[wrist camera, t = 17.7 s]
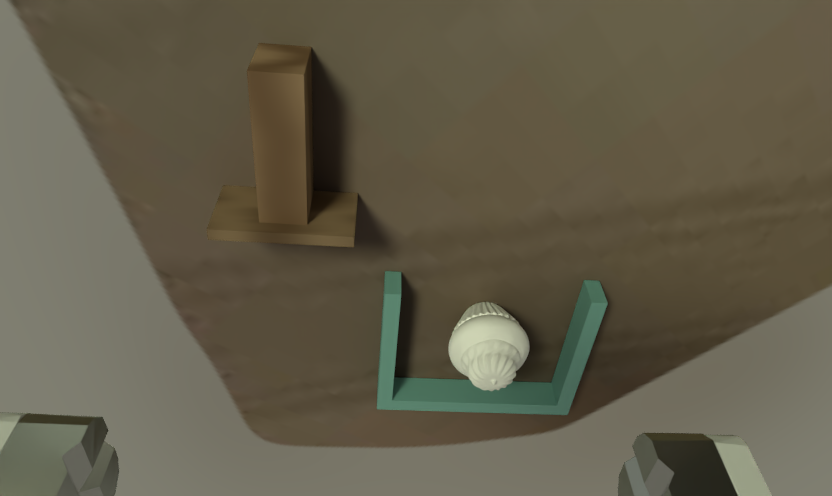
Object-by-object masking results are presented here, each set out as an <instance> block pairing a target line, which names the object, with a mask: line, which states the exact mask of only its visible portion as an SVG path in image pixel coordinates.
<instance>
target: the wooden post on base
mask: <svg viewBox="0 0 832 496" xmlns="http://www.w3.org/2000/svg"><path fill="white" fill-rule="evenodd" d="M247 77H248V90H249V103H250V115H251V128H252V140H253V153H254V165H255V178H256V187H244V186H227V185H223V188H222V190H221V193H220V196H219V198H218V201H217V203H216V206H215V209H214V211H213V214H212V217H211V219H210V222H209V224H208V227H207V236H208V240H223V241H243V242H262V243H282V244H301V245H320V246H340V247H354V240H355V228H356V215H357V203H358V193H346V192H329V191H313V124H312V56H311V47H305V46H291V45H278V44H265V43H259V45H258V47H257V49H256V51H255V54H254V56H253V58H252V60H251V63H250V65H249V67H248V70H247Z"/></svg>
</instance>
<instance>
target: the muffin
mask: <svg viewBox="0 0 832 496" xmlns="http://www.w3.org/2000/svg"><path fill="white" fill-rule="evenodd" d="M529 348H530V346H529V340H528V337H527V334H526V332H525V331H524V329H523V328H522V327H521V326H520V325H519V322H518V321H516V320H515V318H513V317H512V316H511V315H510V314H509V313H507V312H506V311H505V310H504V309H503V308H502V307H500V306H498V305H497V304H493V303H492V302H491V303H489V302H483V303H481V302H480V303H476V304H475V305H472V306H471V307H469V308H468V309H467V310H466V311H465V313H464V314H463V316H462V317H461V319H460V320H459V322H458V323H457V325H456V327H455V328H454V331H453V332H452V336H451V338H450V341H449V348H448V350H449V356H450V359H451V361H452V363H453V365H454V366H455V368H456V369H457V370H458V371H459V372H461V373H462V374H464V375H466V376H468V377H469V379H470V380H471V382H472V384H473V385H474V386H476V387H478V388H480V389H482V390H489V391H493V390H500V389H501V388H506V387H507V385H508V384H511V383H512V382H513V378H515V377H516V372H515V371H517V370H518V369H519V368H520V367H521V366H522V365H523V363H524V362H525V360H526V358H527V356H528V353H529Z"/></svg>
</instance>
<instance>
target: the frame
mask: <svg viewBox="0 0 832 496" xmlns="http://www.w3.org/2000/svg"><path fill="white" fill-rule="evenodd" d="M400 304H401V272H391V271H385V281H384V296H383V311H382V327H381V342H380V357H379V373H378V391H377V409H387V410H420V411H452V412H485V413H518V414H551V415H568V412H569V410H570V407H571V404H572V401H573V398H574V396H575V393H576V390H577V387H578V385H579V382H580V379H581V376H582V373H583V371H584V368H585V365H586V362H587V360H588V357H589V354H590V351H591V349H592V346H593V343H594V340H595V337H596V335H597V332H598V329H599V326H600V324H601V321H602V318H603V315H604V312H605V310H606V307H607V304H608V303H607V300H606V297H605V295H604V292H603V289H602V286H601V284H600V281H592V280H584V282H583V285H582V288H581V291H580V294H579V298H578V301H577V304H576V307H575V310H574V313H573V316H572V320H571V323H570V326H569V329H568V332H567V335H566V338H565V341H564V345H563V348H562V351H561V354H560V357H559V360H558V363H557V366H556V370H555V373H554V376H553V379H552V382H551V383H547V382H517V381H513V382H512V383H511V384H508V385H507V387H506V388H501V389H500V390H493V391H489V390H482V389H480V388H478V387H476V386H474V385H473V384H472V382H471V380H458V379H428V378H399V377H394V372H395V361H396V349H397V338H398V327H399V315H400Z"/></svg>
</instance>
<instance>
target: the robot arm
mask: <svg viewBox="0 0 832 496" xmlns="http://www.w3.org/2000/svg"><path fill="white" fill-rule="evenodd" d="M107 432H108V429H107V426H106V424H105V421H104V419H103V417H94V416H72V415H48V414H31V413H6V412H0V496H114V495H115V492H116V487H117V480H118V474H119V465H118V457H117V453H116V451H115V448H114V447H112V446H111V445H109V444H108V443H106V442H105V441H104V439H105V437H106V435H107ZM633 449H634V452H635V457H633V458H631V459H630V460H628V461H626V462H625V463H624V465H623V467H622V470H621V472H620V474H619V484H618V485H619V486H618V496H772V495H771V493H770V491H769V488H768V486H767V485H766V482H765V480H764V479H763V476H762V475H761V472H760V470H759V468H758V466H757V464H756V462H755V460H754V458H753V457H752V454H751V452H750V450H749V448H748V446H747V444H746V442H744V441H743V440H742V439H741V438H740V437H739V436H734V435H704V434H685V433H684V434H683V433H681V434H680V433H643V434H641V435H639V436H637V438H636V440H635V442H634V444H633Z"/></svg>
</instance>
